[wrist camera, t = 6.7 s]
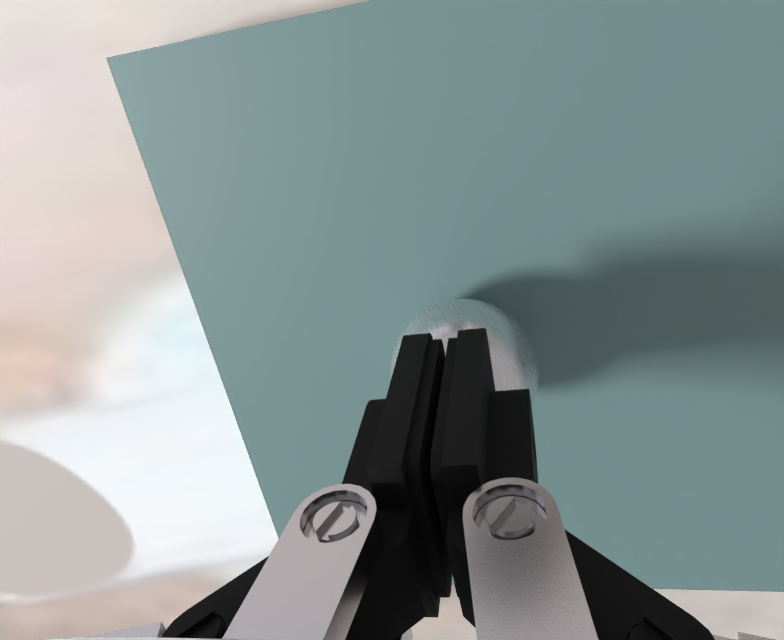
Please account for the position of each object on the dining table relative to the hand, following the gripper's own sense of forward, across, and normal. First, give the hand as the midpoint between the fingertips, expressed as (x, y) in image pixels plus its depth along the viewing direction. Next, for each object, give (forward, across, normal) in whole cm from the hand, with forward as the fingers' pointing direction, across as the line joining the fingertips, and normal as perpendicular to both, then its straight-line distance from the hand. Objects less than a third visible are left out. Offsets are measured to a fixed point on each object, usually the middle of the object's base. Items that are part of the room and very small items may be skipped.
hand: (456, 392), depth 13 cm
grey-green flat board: (+6, -5, +1) cm, 8 cm away
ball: (+2, 0, +1) cm, 2 cm away
